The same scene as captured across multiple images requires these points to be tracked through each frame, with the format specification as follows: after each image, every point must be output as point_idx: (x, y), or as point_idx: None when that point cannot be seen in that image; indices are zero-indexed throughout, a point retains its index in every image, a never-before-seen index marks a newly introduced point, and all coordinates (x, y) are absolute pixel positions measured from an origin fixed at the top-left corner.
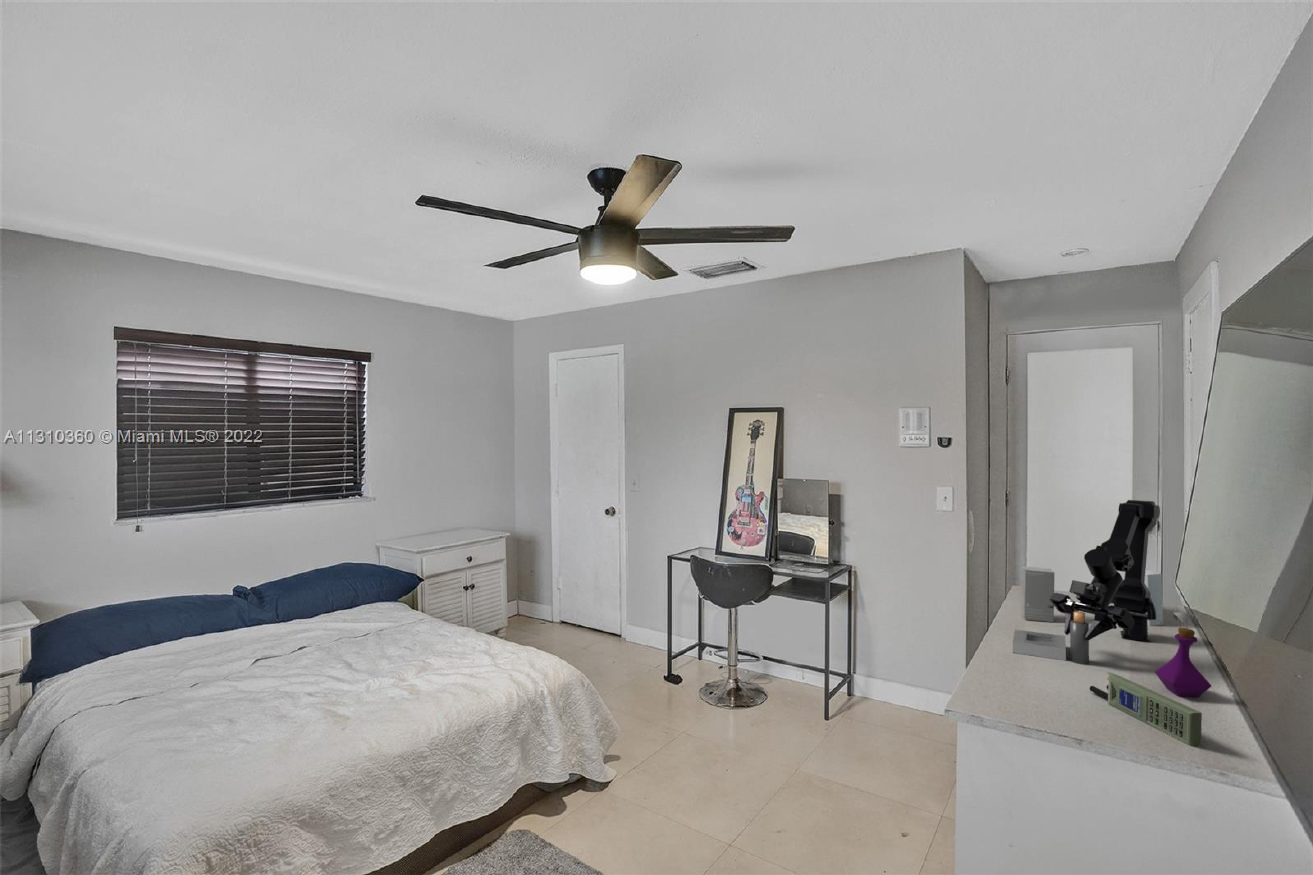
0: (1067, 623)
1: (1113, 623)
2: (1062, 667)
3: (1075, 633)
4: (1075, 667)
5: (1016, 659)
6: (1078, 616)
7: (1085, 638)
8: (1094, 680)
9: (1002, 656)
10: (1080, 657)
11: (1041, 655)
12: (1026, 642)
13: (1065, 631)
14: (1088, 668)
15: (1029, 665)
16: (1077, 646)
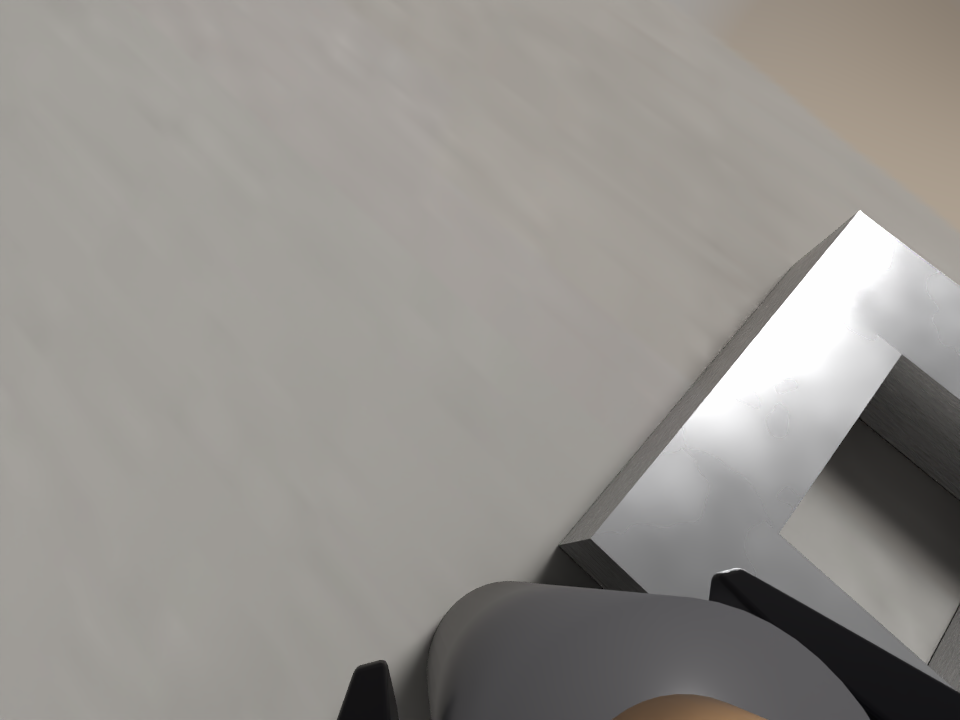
0: (889, 695)
1: None
2: (419, 373)
3: (543, 599)
4: (386, 484)
5: (650, 186)
6: None
7: (371, 663)
8: (84, 380)
9: (721, 146)
10: (450, 617)
11: (683, 400)
12: (828, 303)
13: (733, 575)
14: (327, 587)
15: (520, 177)
16: (487, 604)
